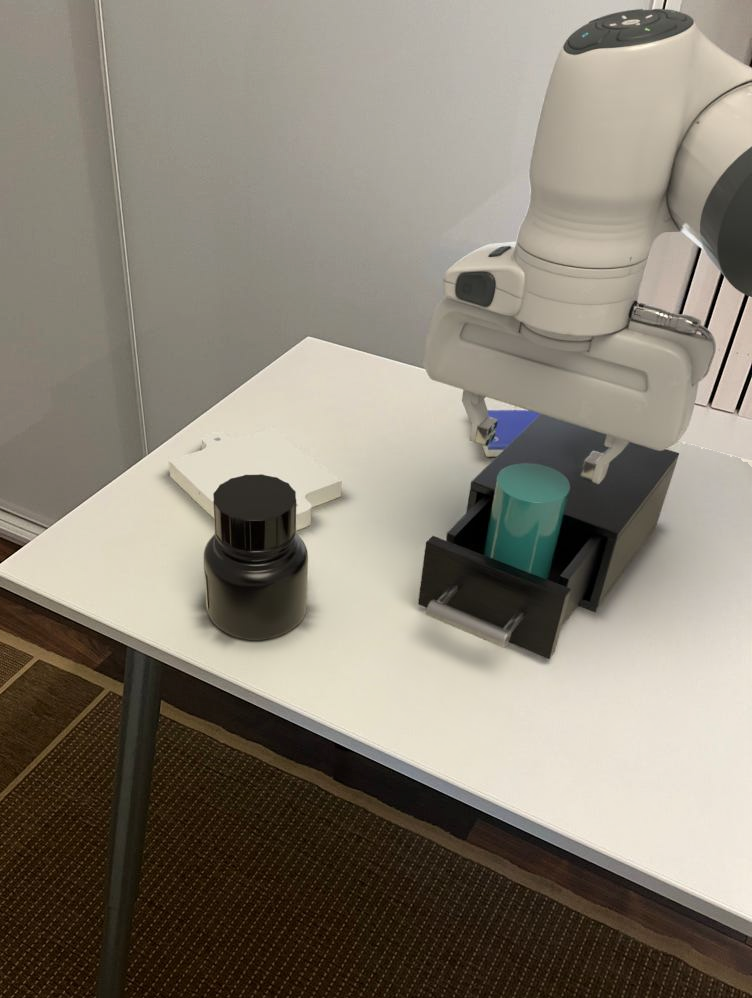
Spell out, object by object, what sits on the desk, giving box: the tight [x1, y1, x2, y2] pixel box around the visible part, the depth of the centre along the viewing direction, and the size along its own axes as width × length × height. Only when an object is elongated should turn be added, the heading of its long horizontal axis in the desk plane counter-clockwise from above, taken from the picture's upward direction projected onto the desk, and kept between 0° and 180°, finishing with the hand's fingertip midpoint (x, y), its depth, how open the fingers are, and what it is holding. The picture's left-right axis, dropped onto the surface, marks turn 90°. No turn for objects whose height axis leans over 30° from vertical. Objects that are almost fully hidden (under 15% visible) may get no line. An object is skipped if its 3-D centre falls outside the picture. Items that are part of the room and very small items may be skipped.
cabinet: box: [465, 414, 680, 613], centre depth 91 cm, size 16×14×9 cm
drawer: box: [417, 494, 607, 660], centre depth 84 cm, size 19×12×7 cm, turn 145°
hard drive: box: [482, 409, 540, 458], centre depth 108 cm, size 2×8×12 cm
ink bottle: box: [203, 474, 309, 641], centre depth 83 cm, size 10×9×12 cm
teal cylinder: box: [483, 463, 570, 580], centre depth 82 cm, size 6×6×11 cm
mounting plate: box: [168, 426, 343, 532], centre depth 101 cm, size 18×13×2 cm
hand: (535, 459), depth 77 cm, fingers open, 8 cm apart
